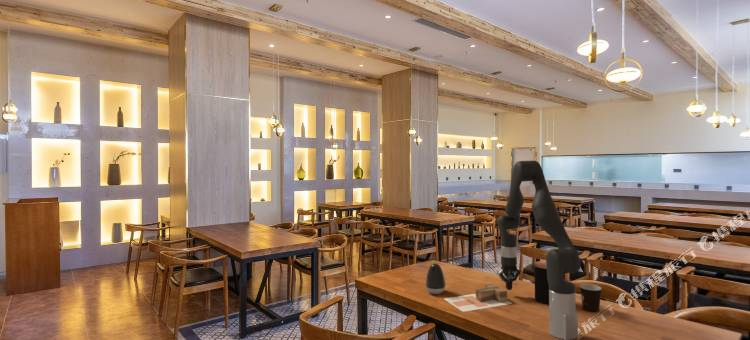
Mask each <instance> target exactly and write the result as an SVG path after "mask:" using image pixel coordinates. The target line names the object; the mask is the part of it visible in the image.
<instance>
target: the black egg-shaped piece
mask: <svg viewBox="0 0 750 340" xmlns="http://www.w3.org/2000/svg"><path fill="white" fill-rule="evenodd" d="M425 287H426V289H427V292H429V293H430V294H432V295H441V294H442V293H444V291H445V289H446V279H445V275H444V271H443V269H442V267H441V266H440V264H438V263H432V264H430V265H429V267H428V269H427V272H426V278H425Z"/></svg>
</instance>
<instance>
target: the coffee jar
mask: <svg viewBox="0 0 750 340" xmlns="http://www.w3.org/2000/svg"><path fill="white" fill-rule="evenodd" d="M533 270H534V300H535V301H537V302H538V303H540V304H544V305H548V306H549V284H548V279H547V265H546V261H544V260H542V261H541V260H540V261H535V262H534V269H533Z"/></svg>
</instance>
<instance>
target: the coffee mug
mask: <svg viewBox="0 0 750 340" xmlns="http://www.w3.org/2000/svg"><path fill="white" fill-rule="evenodd" d="M579 290H580V298H581V306H582V309H583V310H584V311H585V312H588V313H589V312H590V313H598V312H599V311H600V305H601V296H602V290H603V289H602V287H601V286H598V285H596V284H590V283H589V284H587V283H585V284H584V283H583V284H580V285H579Z"/></svg>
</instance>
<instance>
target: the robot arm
mask: <svg viewBox="0 0 750 340" xmlns="http://www.w3.org/2000/svg"><path fill="white" fill-rule="evenodd" d="M510 180H511V181H510V189H509V195H508V199H507V201H506V205H505V209H504V211H505V213H506V214H503V215H502V214H500V215H499V216H498V217H497V220H496V223H497V227H498V230H499V234H500V238H501V241H500V243H501V247H500V265H501V266H500V271H497V272H496V274H497V276H498V277H499V278H500V280H501V281H503V282H504V283H505V290H506V291H512V289H513V283H514V282H516V281H517V279H518V277H519V276H520V274H521V272H522V271H521V270H520V269H518V266H517V265H518V251H517V249H518V248H517V236H516V235H515V234H514V233H510V232H508V231H507V230H516V229H518V228H520V226H521V211H522V208H523V207H524V195H523V193H522V191H521V188H520V187H521V184H522V182H532V183H533V185H534V190H535V191H534V197H533V200H532V202H531V211H532V214H533V217H534V219H535V222H536V223H537V225H538V226H539V227H540V228H541V229H542V230H543V231H544V232H545V233H546V234H547V235H549V236H550V238H552V239H553V240H554V242H555V244H556V245H557V247H558V248H555V249H550V250H548V252H547V253H546V258H545V259H546V265H547V279H548V284H549V305H548V307H549V308H548V312H549V313H548V315H549V316H548V317H549V321H548V325H549V334H550V335H551V336H553V337H554V338H557V339H561V340H574V339H578V338H579V313H578V312H576V284H575V283H573V282H572V281H569V280H566V279H564V274H573V273H577V272H579V271H580V270H581V264H582V263H581V259H580V256H579V253H578V251H577V249H576V247H575V246H574V244H573V242H572V240H571V238H570V237H569V235H568V233H567V230H566V228H565V226H564V224H563V221H562V219H561V216H560V214H559V211H558V209H557V205H555V202H554V200H553V197H552V195H551V193H550V189H549V188H548V184H547V180H546V178H545V174H544V171H543V168H542V166H541V164H540V162H538V161H537V160H519V161H515V163H514V166H513V167H512V174H511V179H510Z"/></svg>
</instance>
